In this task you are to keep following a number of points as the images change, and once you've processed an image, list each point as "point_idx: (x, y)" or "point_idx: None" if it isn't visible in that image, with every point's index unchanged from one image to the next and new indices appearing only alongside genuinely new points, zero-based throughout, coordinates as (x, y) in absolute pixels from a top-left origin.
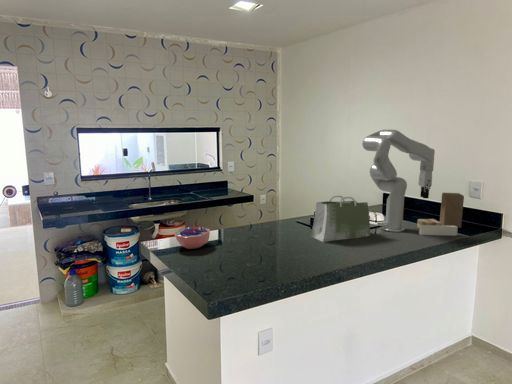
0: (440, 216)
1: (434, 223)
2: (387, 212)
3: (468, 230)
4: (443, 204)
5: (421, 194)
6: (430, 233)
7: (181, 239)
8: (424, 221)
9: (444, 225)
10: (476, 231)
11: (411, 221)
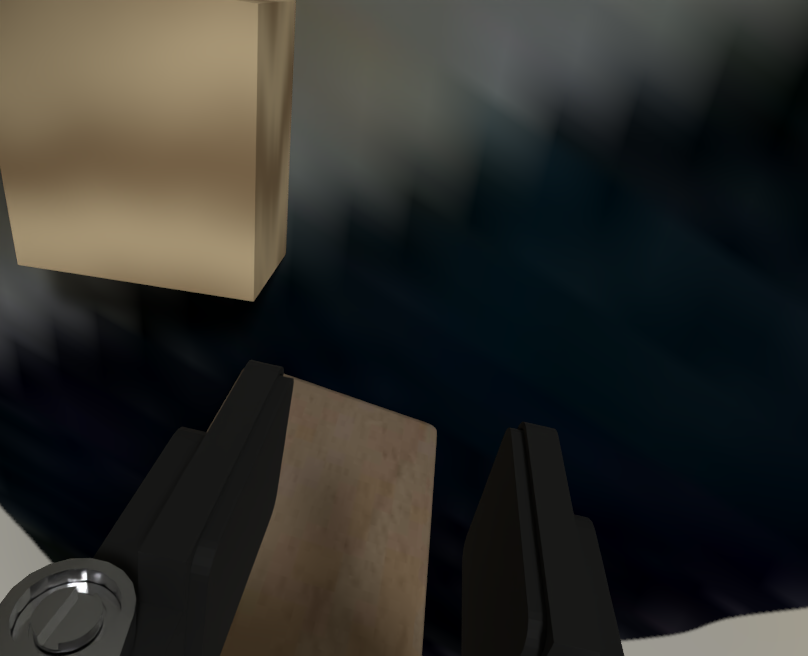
0: (407, 480)
1: (7, 158)
2: None
3: (114, 498)
4: (251, 630)
5: (511, 499)
6: None
7: None
8: (65, 26)
9: (239, 375)
10: (83, 535)
11: (631, 105)
